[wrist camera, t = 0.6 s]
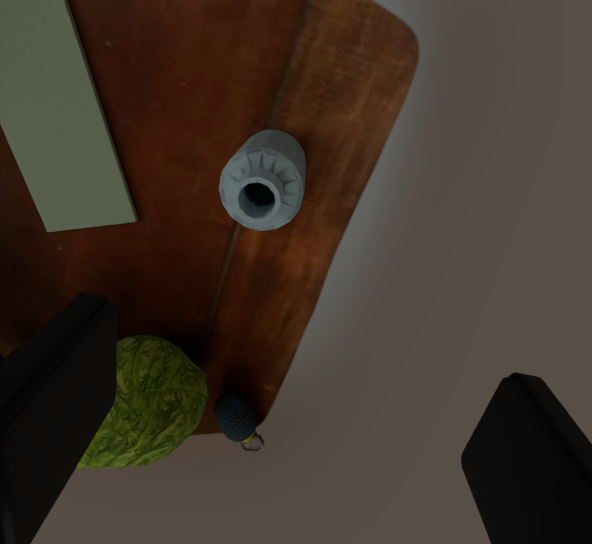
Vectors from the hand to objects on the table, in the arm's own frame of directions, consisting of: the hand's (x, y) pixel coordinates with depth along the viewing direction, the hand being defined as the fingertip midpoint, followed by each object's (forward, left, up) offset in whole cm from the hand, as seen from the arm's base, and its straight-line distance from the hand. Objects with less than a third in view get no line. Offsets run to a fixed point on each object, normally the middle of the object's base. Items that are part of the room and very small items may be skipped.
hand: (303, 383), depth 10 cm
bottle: (+1, -4, -33) cm, 33 cm away
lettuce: (+32, -24, -26) cm, 48 cm away
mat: (-7, -24, -33) cm, 41 cm away
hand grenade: (+28, -15, -30) cm, 44 cm away
